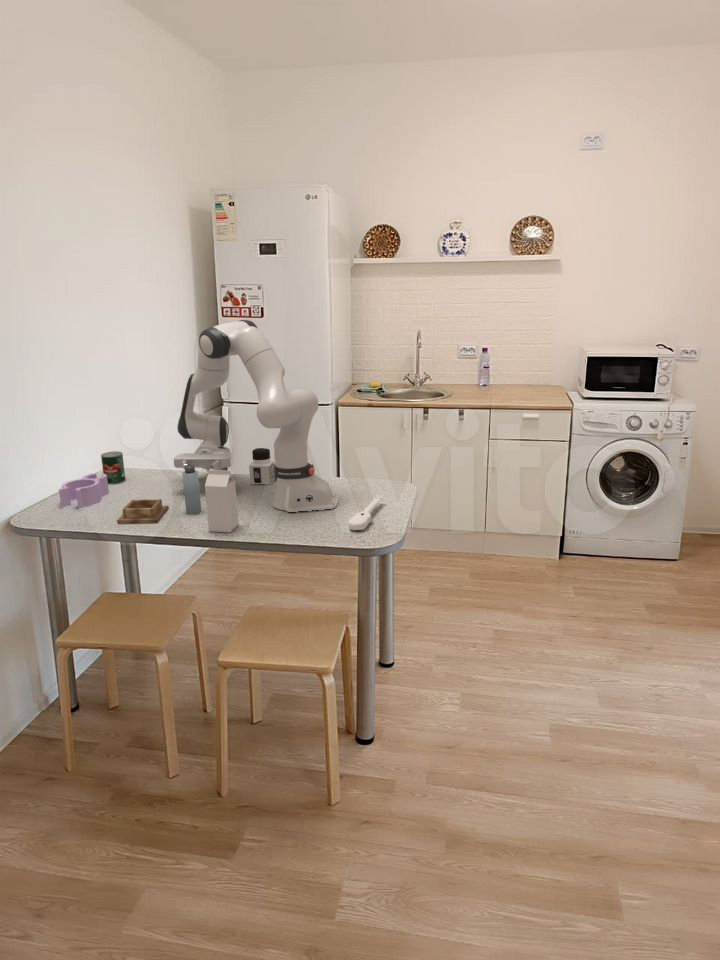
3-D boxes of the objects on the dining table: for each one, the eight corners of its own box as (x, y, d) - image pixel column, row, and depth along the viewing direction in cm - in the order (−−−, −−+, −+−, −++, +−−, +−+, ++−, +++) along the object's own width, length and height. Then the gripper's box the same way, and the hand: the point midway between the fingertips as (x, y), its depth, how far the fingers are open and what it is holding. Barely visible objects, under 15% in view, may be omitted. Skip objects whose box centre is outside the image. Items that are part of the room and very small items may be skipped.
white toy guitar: (371, 503, 244) (371, 495, 244) (388, 504, 243) (387, 496, 242) (345, 531, 219) (345, 522, 218) (363, 533, 217) (363, 524, 216)
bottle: (202, 509, 242) (198, 464, 237) (199, 514, 237) (195, 468, 233) (188, 509, 242) (183, 464, 237) (184, 514, 237) (180, 468, 233)
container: (270, 485, 267) (267, 451, 263) (250, 484, 268) (247, 451, 264) (275, 479, 274) (273, 446, 270) (256, 478, 275) (254, 446, 272)
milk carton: (230, 533, 220) (225, 474, 215) (208, 531, 222) (203, 473, 216) (238, 525, 227) (234, 467, 221) (217, 523, 228) (212, 466, 223)
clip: (87, 490, 266) (84, 473, 264) (117, 492, 264) (115, 474, 262) (55, 508, 247) (52, 489, 245) (87, 510, 245) (84, 490, 243)
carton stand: (168, 508, 244) (167, 497, 242) (157, 523, 230) (156, 510, 229) (130, 509, 244) (129, 497, 242) (117, 524, 230) (115, 511, 229)
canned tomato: (106, 485, 271) (102, 457, 268) (102, 480, 278) (99, 453, 274) (127, 482, 275) (124, 454, 271) (123, 477, 281) (120, 450, 278)
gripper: (177, 448, 262) (168, 458, 248) (233, 447, 262) (226, 457, 248) (179, 464, 263) (169, 475, 250) (234, 464, 263) (228, 475, 250)
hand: (198, 466), depth 249 cm, fingers open, 8 cm apart
